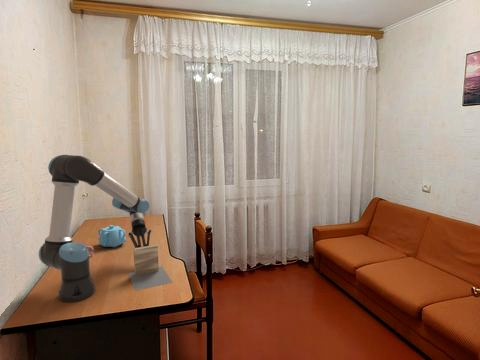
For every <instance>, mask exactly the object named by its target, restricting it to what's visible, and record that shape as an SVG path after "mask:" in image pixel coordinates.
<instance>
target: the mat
mask: <svg viewBox="0 0 480 360" xmlns="http://www.w3.org/2000/svg"><path fill="white" fill-rule="evenodd" d="M128 275H129V278H130V281H131V284H132V286H133V288H134V291H139V290H140V291H141V290H145V289H149V288H154V287H159V286H163V285H167V284H172V283H173V281H172V280H171V277H170V276H169V275H168V273H167V272H166V270H165V268H164V267H163V266H162V265H161V266H159V271H155V272H150V273H145V274H140V275H135V271H131V272H128Z"/></svg>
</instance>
